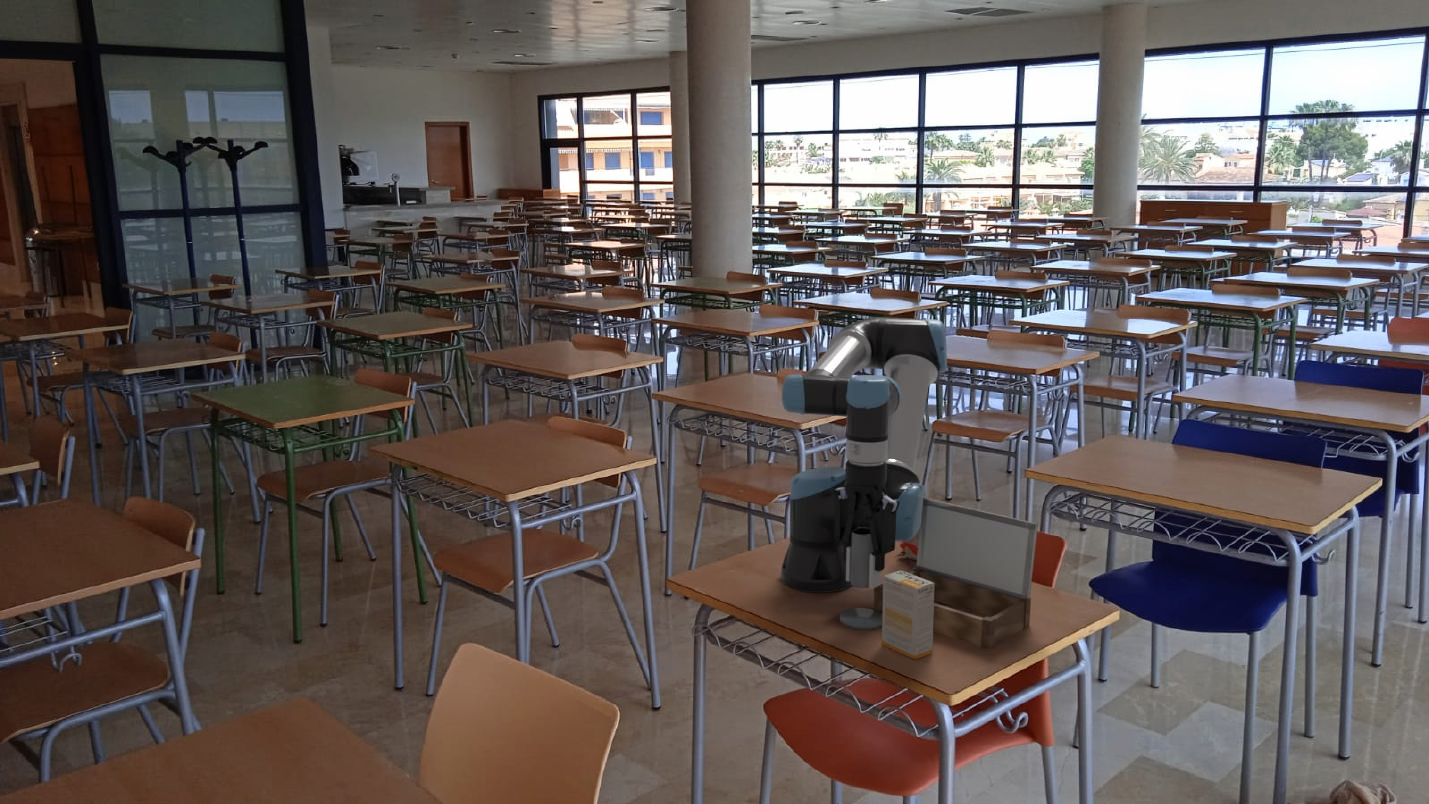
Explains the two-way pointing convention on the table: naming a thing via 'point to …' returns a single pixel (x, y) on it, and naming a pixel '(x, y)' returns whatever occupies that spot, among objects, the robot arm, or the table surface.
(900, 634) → the supplement box
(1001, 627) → the cold frame
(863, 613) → the saucer
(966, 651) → the table surface
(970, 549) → the lid
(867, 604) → the table surface
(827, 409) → the robot arm
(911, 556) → the figurine
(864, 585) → the grey cylindrical cup
